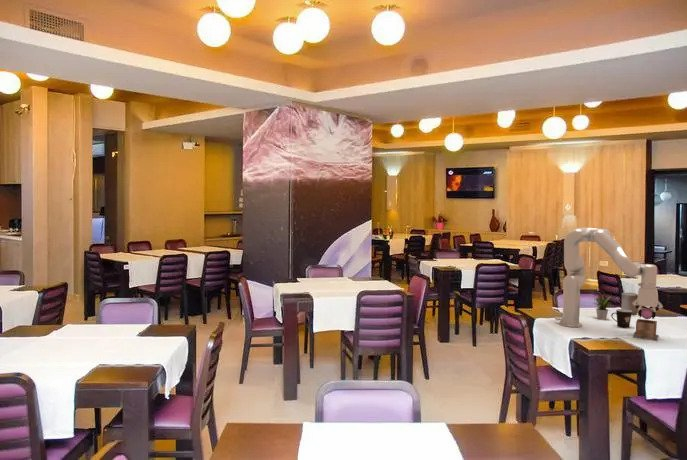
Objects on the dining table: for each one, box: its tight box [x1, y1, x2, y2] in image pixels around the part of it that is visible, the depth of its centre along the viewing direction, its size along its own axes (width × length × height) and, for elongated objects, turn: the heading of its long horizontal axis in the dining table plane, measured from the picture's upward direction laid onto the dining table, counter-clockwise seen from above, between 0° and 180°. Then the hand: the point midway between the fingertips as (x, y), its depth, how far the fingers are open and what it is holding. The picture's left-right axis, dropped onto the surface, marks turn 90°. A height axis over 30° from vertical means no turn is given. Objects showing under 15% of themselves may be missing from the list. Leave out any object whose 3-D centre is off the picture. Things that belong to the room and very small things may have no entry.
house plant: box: [591, 293, 612, 320], centre depth 357 cm, size 14×14×16 cm
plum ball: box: [641, 307, 653, 320], centre depth 311 cm, size 6×6×6 cm
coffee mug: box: [610, 308, 633, 329], centre depth 336 cm, size 12×9×10 cm
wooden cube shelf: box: [632, 318, 660, 341], centre depth 312 cm, size 12×12×9 cm
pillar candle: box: [620, 292, 638, 316], centre depth 373 cm, size 10×10×15 cm
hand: (646, 317), depth 311 cm, fingers closed on plum ball, 5 cm apart
